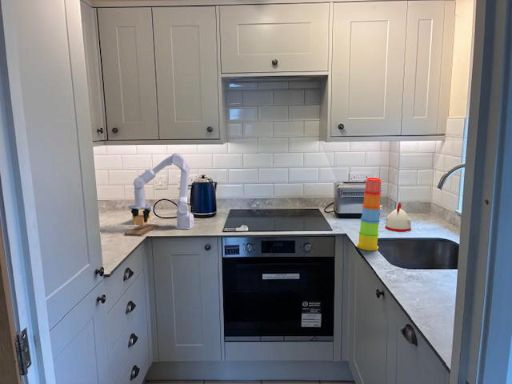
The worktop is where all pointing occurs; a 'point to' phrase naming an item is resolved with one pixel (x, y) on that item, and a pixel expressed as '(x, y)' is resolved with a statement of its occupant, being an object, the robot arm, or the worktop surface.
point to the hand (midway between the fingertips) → (141, 221)
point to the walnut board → (141, 230)
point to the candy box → (138, 214)
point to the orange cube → (140, 220)
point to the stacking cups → (370, 215)
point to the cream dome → (398, 221)
